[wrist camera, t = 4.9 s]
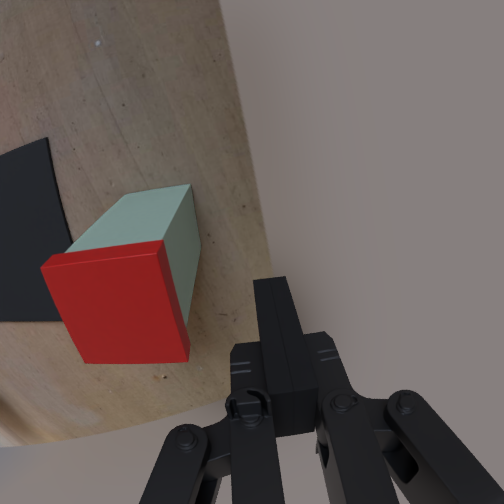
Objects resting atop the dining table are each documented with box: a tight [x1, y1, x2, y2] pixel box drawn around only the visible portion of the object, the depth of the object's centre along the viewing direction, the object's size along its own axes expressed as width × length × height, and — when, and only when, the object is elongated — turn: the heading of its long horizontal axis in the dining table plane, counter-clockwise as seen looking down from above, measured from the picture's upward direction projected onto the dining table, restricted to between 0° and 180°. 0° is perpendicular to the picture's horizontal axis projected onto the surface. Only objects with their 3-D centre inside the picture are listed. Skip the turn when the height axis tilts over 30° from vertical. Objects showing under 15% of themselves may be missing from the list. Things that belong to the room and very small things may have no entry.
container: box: [40, 184, 201, 364], centre depth 20 cm, size 7×7×14 cm
